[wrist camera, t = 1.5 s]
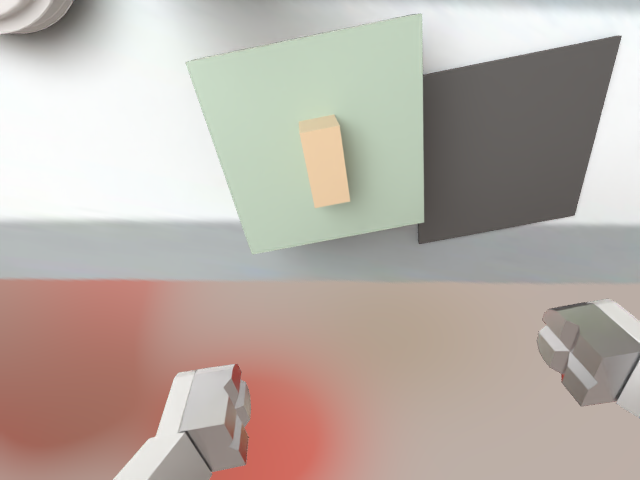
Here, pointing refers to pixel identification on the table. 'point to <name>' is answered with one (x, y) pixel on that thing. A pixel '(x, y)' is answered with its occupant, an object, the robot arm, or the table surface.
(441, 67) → the table surface
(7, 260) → the table surface
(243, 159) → the green lid
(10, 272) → the table surface
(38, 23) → the lid
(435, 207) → the black mat
